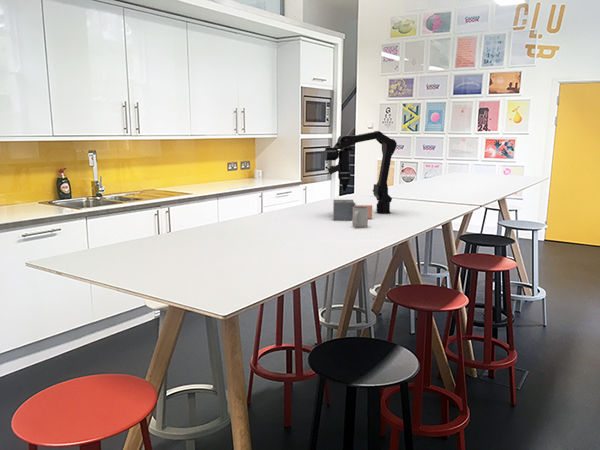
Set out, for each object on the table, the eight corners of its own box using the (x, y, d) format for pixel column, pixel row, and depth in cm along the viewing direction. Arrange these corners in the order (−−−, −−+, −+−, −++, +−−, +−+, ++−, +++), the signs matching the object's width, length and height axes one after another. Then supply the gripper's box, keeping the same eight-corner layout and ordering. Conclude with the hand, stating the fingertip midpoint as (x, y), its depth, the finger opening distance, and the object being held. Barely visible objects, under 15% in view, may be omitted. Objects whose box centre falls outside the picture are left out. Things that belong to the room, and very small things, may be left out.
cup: (370, 225, 240) (370, 207, 238) (361, 229, 232) (361, 210, 230) (356, 224, 244) (356, 205, 242) (347, 227, 236) (347, 208, 234)
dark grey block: (354, 216, 262) (354, 199, 260) (355, 220, 253) (356, 202, 251) (333, 216, 263) (333, 199, 261) (333, 220, 253) (333, 202, 251)
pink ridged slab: (371, 217, 258) (371, 205, 257) (372, 218, 256) (372, 205, 255) (338, 217, 259) (338, 204, 258) (338, 218, 257) (338, 205, 255)
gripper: (329, 158, 273) (329, 187, 276) (328, 161, 255) (328, 192, 258) (349, 158, 272) (349, 187, 275) (350, 161, 254) (350, 192, 257)
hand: (344, 189), depth 266 cm, fingers open, 9 cm apart
